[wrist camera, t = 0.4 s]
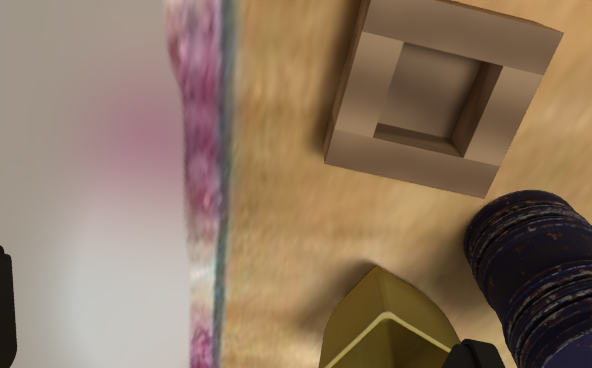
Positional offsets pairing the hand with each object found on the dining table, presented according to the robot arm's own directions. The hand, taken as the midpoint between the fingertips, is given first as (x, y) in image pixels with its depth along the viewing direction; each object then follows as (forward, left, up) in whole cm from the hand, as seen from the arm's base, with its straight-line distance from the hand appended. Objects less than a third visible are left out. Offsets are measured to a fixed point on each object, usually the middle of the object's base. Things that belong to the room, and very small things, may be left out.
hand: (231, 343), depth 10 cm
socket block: (0, +10, -28) cm, 29 cm away
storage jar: (+11, +23, -28) cm, 38 cm away
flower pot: (+20, +13, -28) cm, 37 cm away
